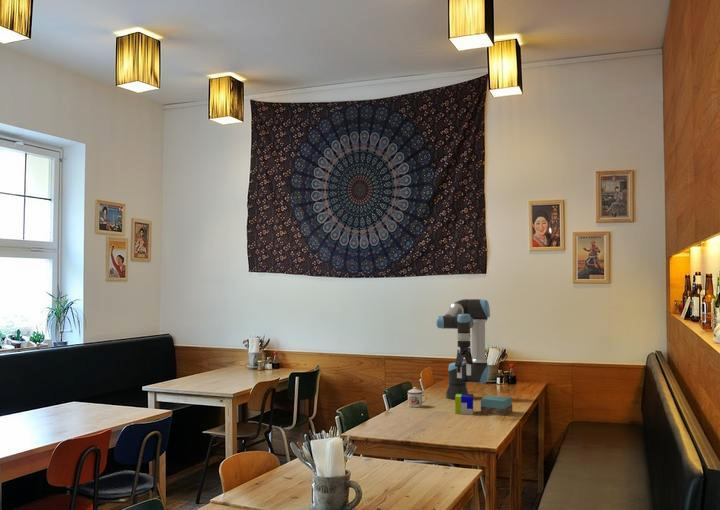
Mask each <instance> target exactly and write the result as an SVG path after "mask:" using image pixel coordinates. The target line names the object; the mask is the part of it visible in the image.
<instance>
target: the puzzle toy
mask: <svg viewBox="0 0 720 510" xmlns="http://www.w3.org/2000/svg"><path fill="white" fill-rule="evenodd" d="M454 404H455V405H454V408H455V411H454V412H455V413H454V414H455V415H471V416H472V415H474V394H471V393H469V394H456V396H455V399H454Z"/></svg>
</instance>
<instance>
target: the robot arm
mask: <svg viewBox="0 0 720 510" xmlns="http://www.w3.org/2000/svg"><path fill="white" fill-rule="evenodd" d="M490 317H491V308H490V304H489V301H488V300H487V299H483V298H482V299H481V298H480V299H479V298H478V299H477V298H475V299H474V298H473V299H472V298H471V299H469V298H468V299H467V298H463V299H460V300H457V301H455V302H453V303H452V304H451V305H450V307H449V308H448V311H446V313H445V314H444V315H438V316H437V317H436V323H435V324H436V326H437V329H445V330H447V329H448V330H450V329H454V330H457V336H456V337H457V347H458V348H459V349H457V352H456V353H457V354H456V359H455V362H451V363H449V364H448V370H447V371H448V385H447V386H448V387H447V389H446V390H447V391H446V393H445V397H446V399H450V400H455V396H456V394H470V392H469V390H468V387H467V383H475V384H486V383H487V382H488V381H489V378H490V374H491V373H490V371H491V365H489V364H488V361H487V359H486V323H487V321H488V318H490ZM464 359H465V361H464Z"/></svg>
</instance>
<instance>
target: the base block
mask: <svg viewBox="0 0 720 510" xmlns="http://www.w3.org/2000/svg"><path fill="white" fill-rule="evenodd" d="M511 413H513V404H512V405H511V406H509V407H507V408H505V409H499V408H490V407H481V406H480V414H483V415H491V416H498V417H499V416H501V417H505V416H507V415H509V414H511Z"/></svg>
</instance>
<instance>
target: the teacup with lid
mask: <svg viewBox="0 0 720 510" xmlns="http://www.w3.org/2000/svg"><path fill="white" fill-rule="evenodd" d="M423 397H425V400H424V401H423ZM427 400H428V397H427V395H426V394H423V391H422V390H420V389H419V388H417V386H413V388H412V389H409V390H407V406H408V407H409V408H422V407H423V404H424V403H426V402H427Z"/></svg>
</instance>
